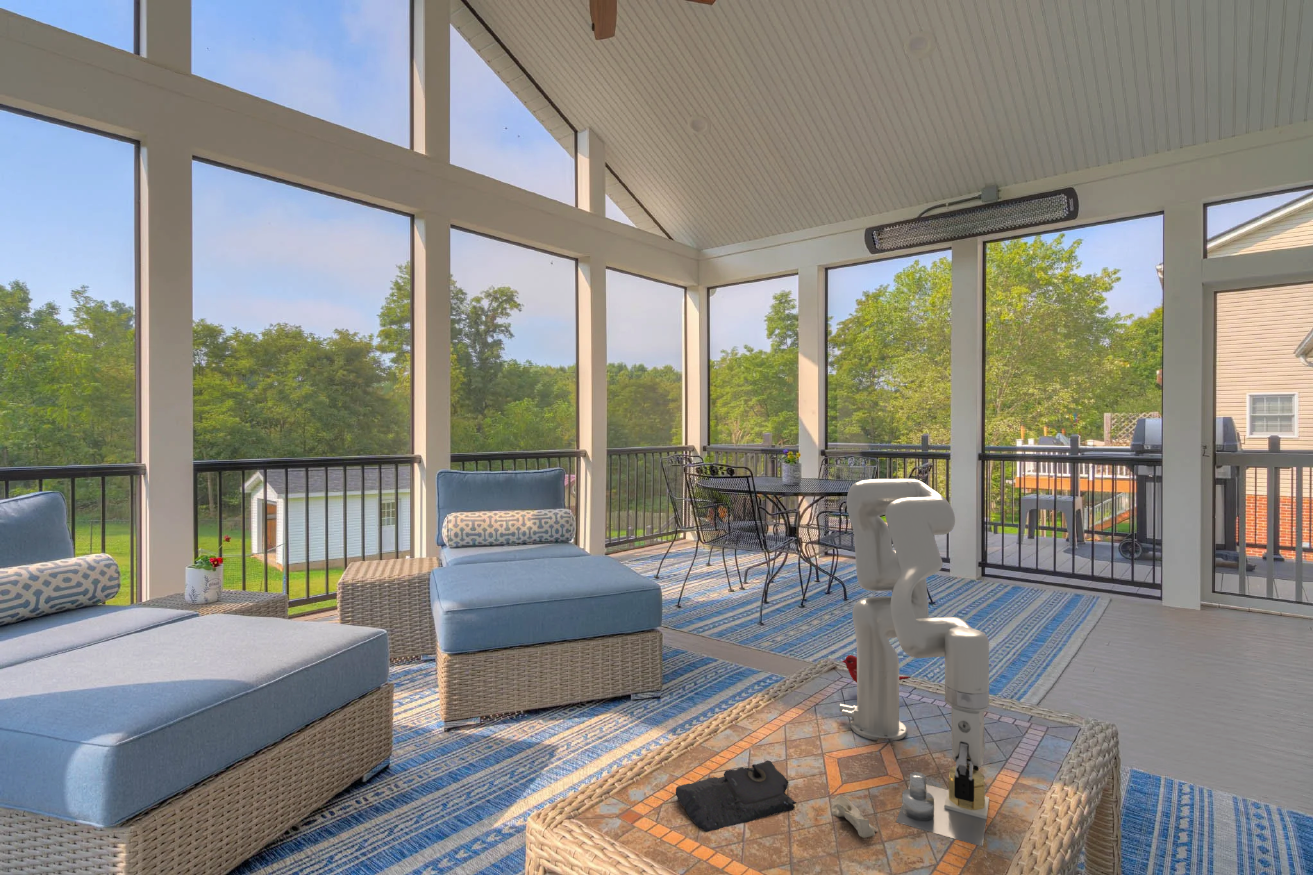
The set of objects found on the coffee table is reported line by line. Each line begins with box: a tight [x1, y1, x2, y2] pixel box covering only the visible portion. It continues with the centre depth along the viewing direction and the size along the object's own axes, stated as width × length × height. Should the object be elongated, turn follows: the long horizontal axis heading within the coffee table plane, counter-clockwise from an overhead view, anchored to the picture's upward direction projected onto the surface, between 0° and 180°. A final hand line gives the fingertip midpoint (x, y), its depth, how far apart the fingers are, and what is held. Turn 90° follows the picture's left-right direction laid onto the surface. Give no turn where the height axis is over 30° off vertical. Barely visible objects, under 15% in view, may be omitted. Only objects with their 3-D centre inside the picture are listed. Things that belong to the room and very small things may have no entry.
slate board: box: [895, 784, 987, 848], centre depth 120 cm, size 14×16×1 cm
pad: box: [944, 788, 990, 820], centre depth 122 cm, size 7×7×1 cm
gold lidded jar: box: [948, 765, 986, 810], centre depth 123 cm, size 6×6×6 cm
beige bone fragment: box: [830, 794, 879, 839], centre depth 118 cm, size 6×10×4 cm, turn 20°
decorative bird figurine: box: [841, 654, 911, 684], centre depth 176 cm, size 3×18×10 cm, turn 67°
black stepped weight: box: [675, 759, 797, 832], centre depth 126 cm, size 15×22×5 cm
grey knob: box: [901, 771, 934, 821], centre depth 120 cm, size 5×5×7 cm
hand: (966, 786), depth 122 cm, fingers open, 9 cm apart
